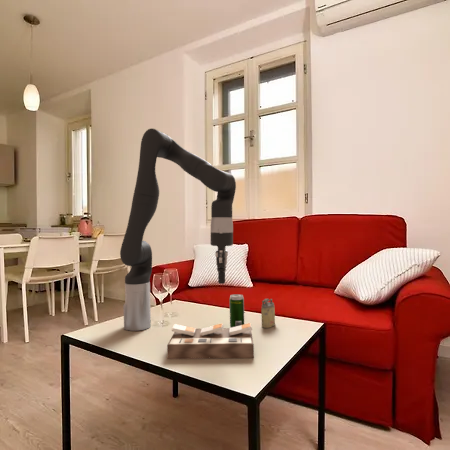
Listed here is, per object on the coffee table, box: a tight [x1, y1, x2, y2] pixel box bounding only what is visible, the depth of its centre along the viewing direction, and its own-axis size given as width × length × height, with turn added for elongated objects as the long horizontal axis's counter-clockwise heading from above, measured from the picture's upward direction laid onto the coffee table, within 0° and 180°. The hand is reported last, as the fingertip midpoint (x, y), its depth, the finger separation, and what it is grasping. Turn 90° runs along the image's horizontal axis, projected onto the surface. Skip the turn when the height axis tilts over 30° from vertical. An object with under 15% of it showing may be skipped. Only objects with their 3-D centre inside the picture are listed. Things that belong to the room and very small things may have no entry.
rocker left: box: [171, 323, 197, 336], centre depth 98 cm, size 7×4×1 cm, turn 88°
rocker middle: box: [200, 322, 224, 336], centre depth 97 cm, size 7×4×1 cm, turn 89°
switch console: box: [166, 327, 255, 360], centre depth 96 cm, size 25×14×5 cm, turn 88°
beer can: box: [229, 293, 245, 328], centre depth 115 cm, size 5×5×12 cm
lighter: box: [260, 298, 276, 329], centre depth 117 cm, size 7×4×10 cm, turn 145°
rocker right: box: [229, 322, 253, 335], centre depth 97 cm, size 7×4×1 cm, turn 89°
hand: (221, 283), depth 102 cm, fingers closed
